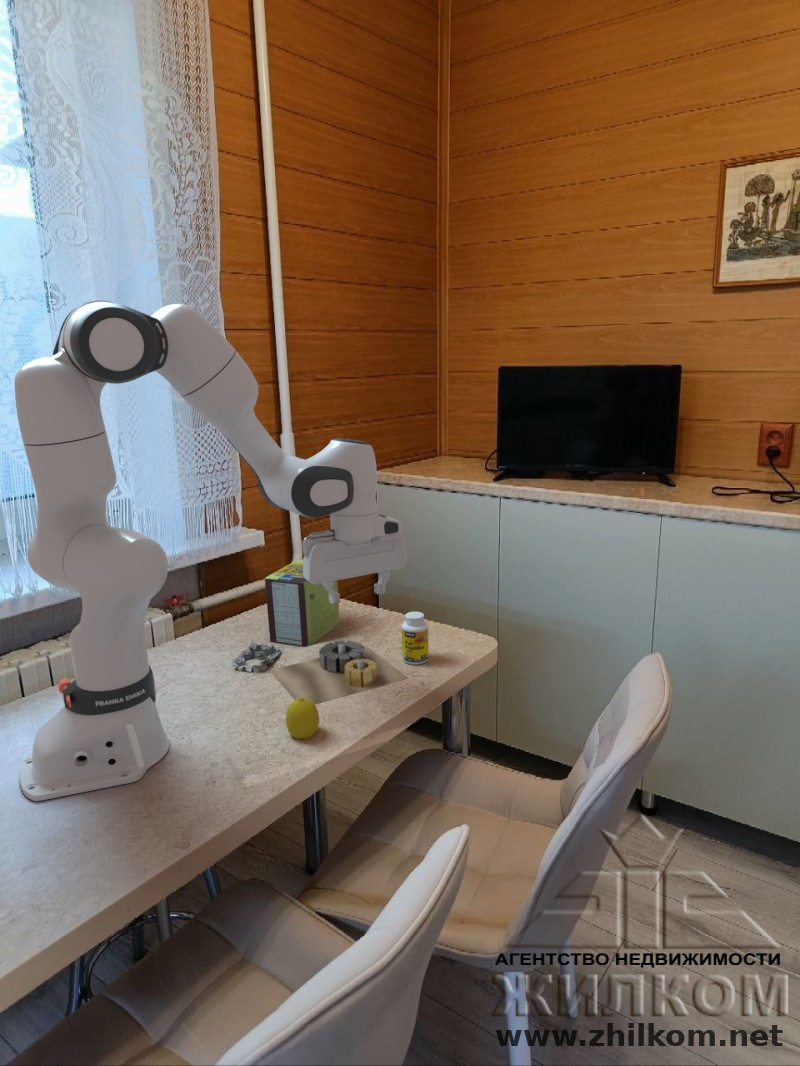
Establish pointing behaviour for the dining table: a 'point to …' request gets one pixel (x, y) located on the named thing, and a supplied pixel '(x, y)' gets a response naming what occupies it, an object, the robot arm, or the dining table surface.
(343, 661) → the grey gear
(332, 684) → the gear board
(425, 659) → the supplement bottle
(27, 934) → the dining table surface
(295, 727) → the lemon
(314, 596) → the protein box
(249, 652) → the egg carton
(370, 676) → the brass gear
